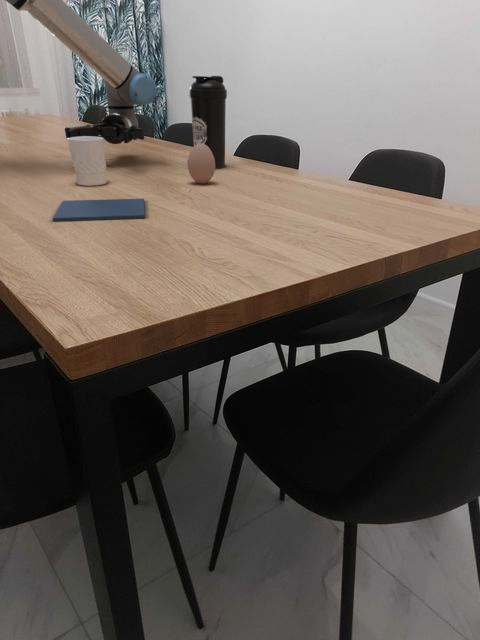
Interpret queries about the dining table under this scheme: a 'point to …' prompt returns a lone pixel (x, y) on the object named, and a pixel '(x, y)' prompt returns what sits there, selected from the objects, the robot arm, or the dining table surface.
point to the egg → (201, 163)
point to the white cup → (88, 160)
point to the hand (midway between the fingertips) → (97, 137)
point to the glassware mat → (100, 209)
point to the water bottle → (209, 115)
